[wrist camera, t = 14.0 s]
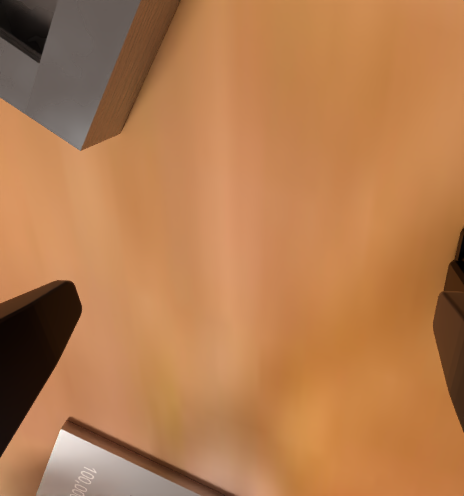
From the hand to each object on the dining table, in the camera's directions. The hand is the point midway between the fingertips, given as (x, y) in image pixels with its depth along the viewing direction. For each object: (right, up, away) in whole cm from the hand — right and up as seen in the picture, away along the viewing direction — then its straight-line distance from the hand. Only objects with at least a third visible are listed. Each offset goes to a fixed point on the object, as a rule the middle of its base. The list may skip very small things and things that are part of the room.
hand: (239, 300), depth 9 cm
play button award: (-11, -26, +32) cm, 43 cm away
